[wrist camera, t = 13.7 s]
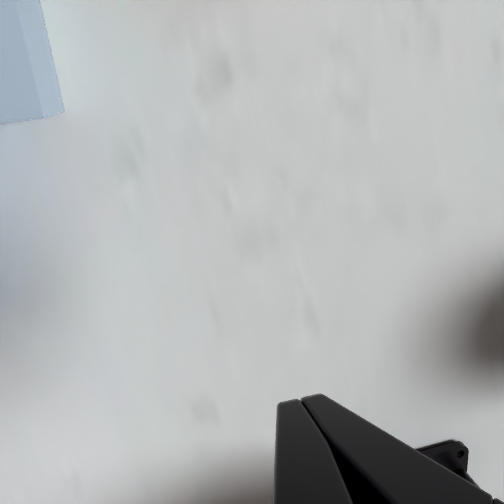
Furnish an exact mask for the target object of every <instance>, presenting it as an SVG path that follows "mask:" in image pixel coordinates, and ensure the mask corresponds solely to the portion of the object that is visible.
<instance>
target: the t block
mask: <svg viewBox="0 0 504 504" xmlns="http://www.w3.org/2000/svg"><path fill="white" fill-rule="evenodd" d="M64 111H65V110H64V105H63V101H62V96H61V92H60V87H59V83H58V78H57V74H56V70H55V65H54V61H53V56H52V52H51V47H50V43H49V38H48V34H47V29H46V25H45V20H44V16H43V11H42V7H41V3H40V0H0V123H7V122H17V121H26V120H35V119H44V118H47V117H50V116H52V115H55V114H58V113H61V112H64Z"/></svg>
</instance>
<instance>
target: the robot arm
mask: <svg viewBox="0 0 504 504" xmlns="http://www.w3.org/2000/svg"><path fill="white" fill-rule="evenodd" d="M468 453H469V451H468V448H467V447H466V446H465V445H464V444H463V443H462V442H460V441H457V442H453V443H449V444H446V445H442V446H438V447H435V448H431V449H427V450H424V451H420V452H418V451H417V450H415V449H413V448H412V447H410V446H408V445H407V444H405V443H403V442H402V441H400V440H398V439H397V438H395V437H393V436H392V435H390V434H388V433H387V432H385V431H383V430H382V429H380V428H378V427H377V426H375V425H373V424H372V423H370V422H368V421H367V420H365V419H363V418H362V417H360V416H358V415H357V414H355V413H353V412H352V411H350V410H348V409H347V408H345V407H343V406H342V405H340V404H338V403H337V402H335V401H333V400H332V399H330V398H328V397H327V396H325V395H323V394H315V395H311V396H306V397H303V398H301V400H298V399H293V400H289V401H284V402H280V403H279V404H278V405H277V418H276V441H275V464H274V486H273V504H504V502H502V501H500V500H499V499H497V498H495V499H492V496H491V495H490V494H488V493H487V492H485V491H483V490H482V489H480V487H479V486H478V485H477V484H476V483H475V482H474V480H473V479H472V478H471V477H470V476H469V475H468V473H467V464H468Z"/></svg>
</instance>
